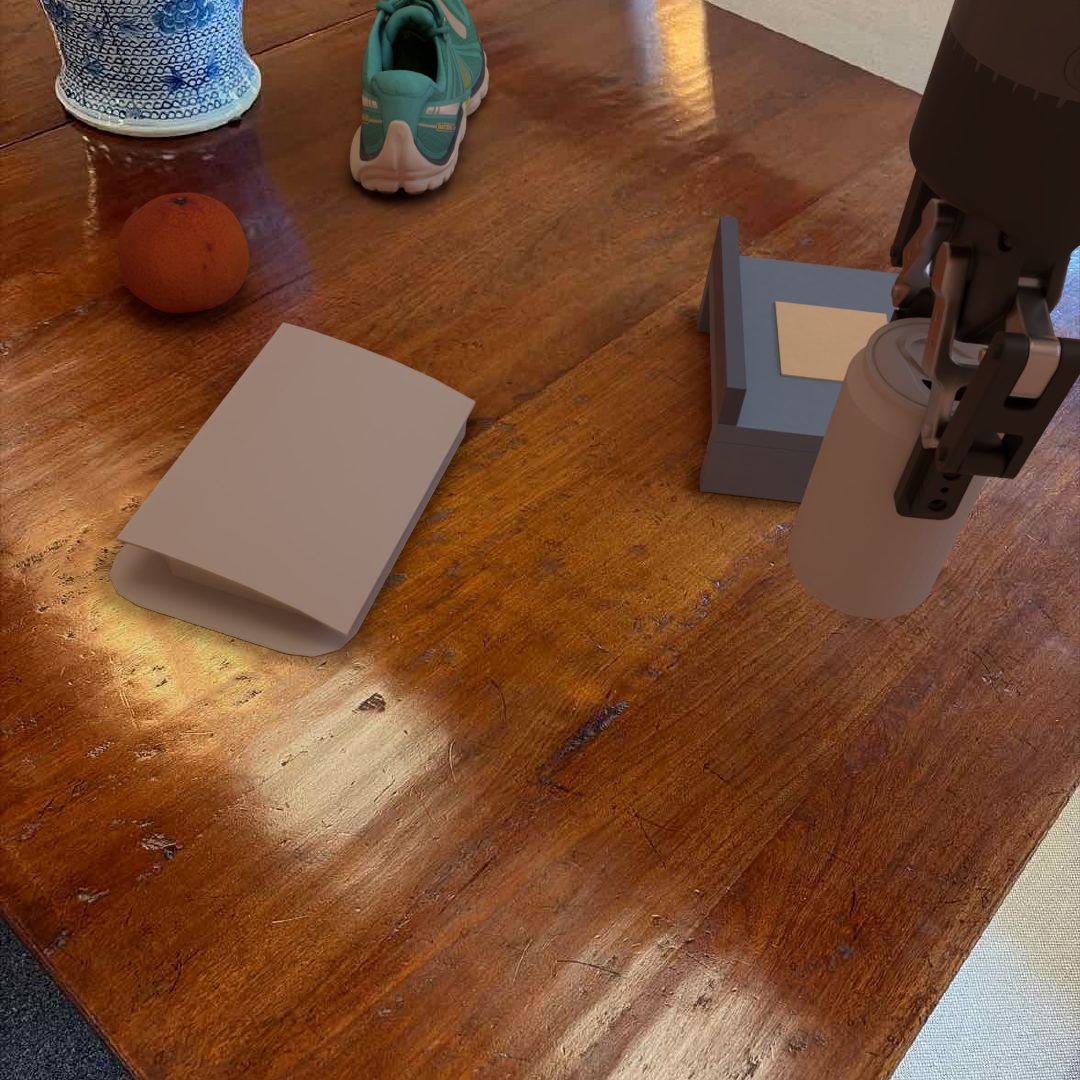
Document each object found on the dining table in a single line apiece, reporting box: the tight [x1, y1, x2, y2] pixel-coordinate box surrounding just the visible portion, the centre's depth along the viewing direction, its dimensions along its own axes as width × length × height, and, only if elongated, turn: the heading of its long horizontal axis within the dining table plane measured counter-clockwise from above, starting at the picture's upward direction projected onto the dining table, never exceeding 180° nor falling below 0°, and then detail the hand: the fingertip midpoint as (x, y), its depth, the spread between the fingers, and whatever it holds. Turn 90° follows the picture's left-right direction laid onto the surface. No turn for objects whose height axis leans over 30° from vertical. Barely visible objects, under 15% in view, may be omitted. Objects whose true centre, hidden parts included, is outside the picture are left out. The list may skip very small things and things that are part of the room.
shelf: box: [696, 215, 900, 504], centre depth 80 cm, size 14×18×9 cm
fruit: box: [117, 191, 250, 314], centre depth 83 cm, size 9×9×8 cm
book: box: [108, 321, 476, 658], centre depth 73 cm, size 15×23×4 cm, turn 162°
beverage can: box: [787, 318, 989, 620], centre depth 48 cm, size 6×6×12 cm
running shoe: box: [349, 0, 490, 196], centre depth 101 cm, size 11×29×11 cm, turn 1°
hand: (907, 446), depth 47 cm, fingers closed on beverage can, 6 cm apart
